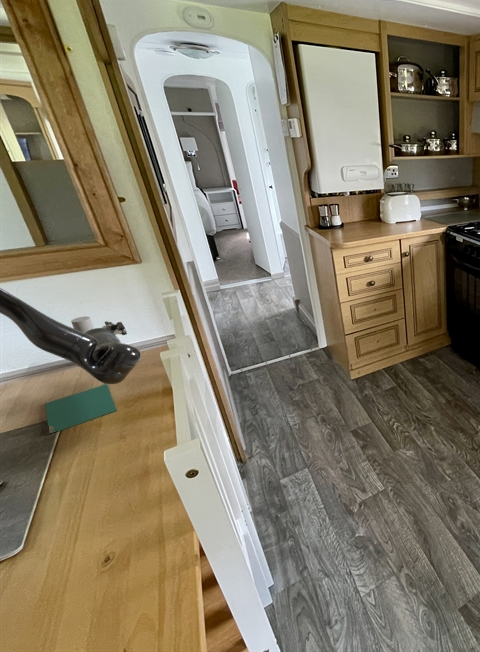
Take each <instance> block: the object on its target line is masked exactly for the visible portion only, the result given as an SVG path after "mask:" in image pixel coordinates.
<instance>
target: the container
mask: <svg viewBox="0 0 480 652" xmlns="http://www.w3.org/2000/svg"><path fill="white" fill-rule="evenodd" d="M71 325H72V328H74V329H76V330H78V331H80V332H83V333H85V332H87V331H89V330H91V329H95V326H94V324H93V322H92V319H91V317H90V316H80V317H75V318H73V319H71Z"/></svg>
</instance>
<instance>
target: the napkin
mask: <svg viewBox="0 0 480 652" xmlns="http://www.w3.org/2000/svg"><path fill="white" fill-rule="evenodd" d="M115 412H117V407H116V405H115V402H114V400H113V397H112V394H111V390H110V388H109V384H105V383H104V384H101V385H99V386H96V387H92V388H88V389H86V390H83V391H79V392H77V393H74V394H70V395H68V396H64V397H61V398H58V399H53V400H51V401H48V402H45V413H46V421H47V427H48V426H52V427H54V429H53V430H54V431H55V432H56V431H58V432H62V431H64V430H67V429H70V428H73V427H75V426H78V425H81V424H84V423H86V422H89V421H92V420H95V419H97V418H100V417H103V416H104V417H105V416H107V415H109V414H112V413H115ZM56 433H57V432H56Z"/></svg>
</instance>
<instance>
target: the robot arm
mask: <svg viewBox="0 0 480 652" xmlns="http://www.w3.org/2000/svg"><path fill="white" fill-rule="evenodd" d="M0 314H1V315H3V316H4V317H6V318H8V319H9V320H10V321H12V322H13V323H14V324H15V325H16V326H17V328H18V329H19V330H20V331H21V333H23V335H24V336H25V337H26V339H27V340H28V341H29V342H30V343H32V345H34V346H35V347H36V348H38V349H40V350H42V351H44V352H46V353H49V354H51V355H53V356H56V357H58V358H61V359H63V360H66V361H68V362H71V363H72V364H74V365H76V366H78V367H79V368H81V369H82V370H84V371H85V372H87V373H88V374H89V375H90V376H92V378H94V379H95V380H97V381H98V382H100V383H103V384H104V385H105V384H107V385H117V384H121V383H122V382H123V381H124V380H125V379H126V378H127V377H128V376H129V375H130V373H131V372H132V371H133V369H134V368H135V367H136V366H137V364H138V363H139V362H140V360H141V359H142V353H141V351H140V349H138V348H137V347H136V346H133V345H132V344H128V343H122V342H121V340H120V338H119V337H117V335H122V336H126V335H127V334H128V332H127V330H126V327H125V325H124V323H123V322H122V321H118V322H116V324H114V323H113V322H112V321H108V320H106V321H104V325H102V326H101V327H96V328H95V327H94V328H95V329H91V330H89V331H87V332H85V333H83V332H80V331H78V330H76V329H74V328H73V327H71V326H68V325H66V324H64V323H62V322H60V321H57V320H56V319H54V318H52V317H50V316H48V315H47V314H45V313H43V312H41V311H39V310H38V309H36V308H35V307H34V306H31V305H29V304H28V303H26V302H25V301H24V300H22V299H20V298H19V297H16V296H15V295H13V294H11V293H10V292H9V291H7V290H5V289H3V288H1V287H0Z"/></svg>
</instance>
